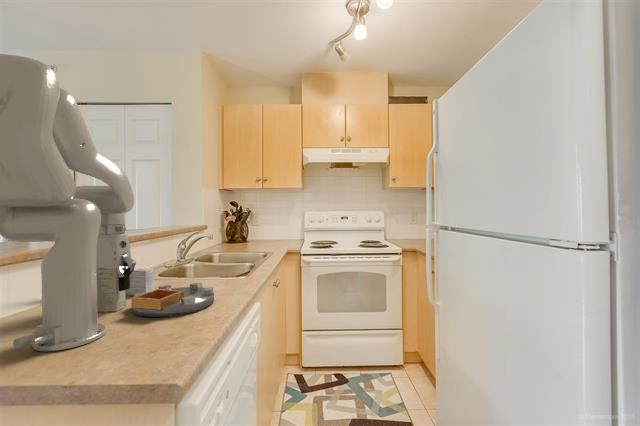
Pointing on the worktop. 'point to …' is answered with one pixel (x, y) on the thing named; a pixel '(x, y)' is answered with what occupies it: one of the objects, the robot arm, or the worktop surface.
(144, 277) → the medicine box
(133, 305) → the round grey platter
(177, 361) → the worktop surface
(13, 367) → the worktop surface
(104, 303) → the skincare box
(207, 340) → the worktop surface
